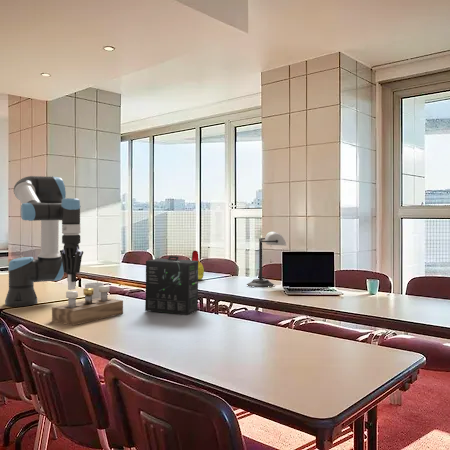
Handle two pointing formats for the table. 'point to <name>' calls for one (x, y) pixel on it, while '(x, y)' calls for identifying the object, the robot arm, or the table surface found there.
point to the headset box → (171, 286)
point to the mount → (87, 311)
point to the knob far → (104, 293)
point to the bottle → (200, 266)
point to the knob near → (71, 298)
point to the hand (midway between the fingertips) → (71, 289)
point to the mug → (95, 289)
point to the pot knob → (88, 295)
